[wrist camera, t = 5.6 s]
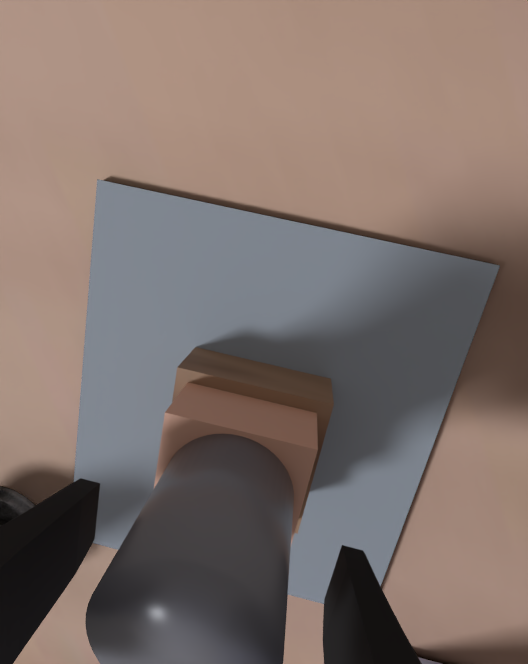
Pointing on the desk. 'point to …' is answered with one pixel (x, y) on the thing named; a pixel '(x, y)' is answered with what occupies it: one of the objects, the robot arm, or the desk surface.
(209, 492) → the dark grey cylinder
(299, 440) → the tower middle
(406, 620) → the desk surface
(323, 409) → the tower base
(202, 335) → the mat
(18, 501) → the salt shaker
